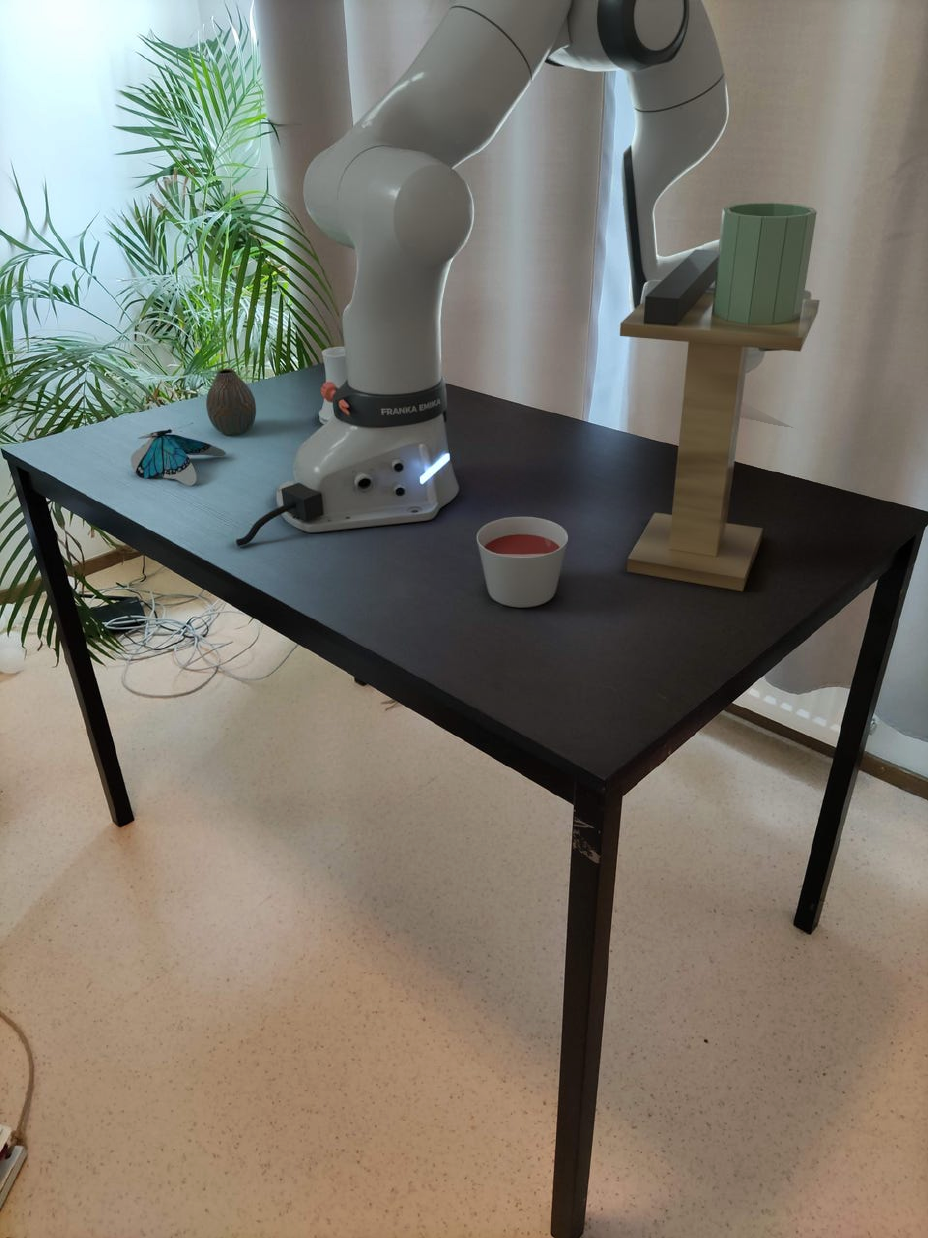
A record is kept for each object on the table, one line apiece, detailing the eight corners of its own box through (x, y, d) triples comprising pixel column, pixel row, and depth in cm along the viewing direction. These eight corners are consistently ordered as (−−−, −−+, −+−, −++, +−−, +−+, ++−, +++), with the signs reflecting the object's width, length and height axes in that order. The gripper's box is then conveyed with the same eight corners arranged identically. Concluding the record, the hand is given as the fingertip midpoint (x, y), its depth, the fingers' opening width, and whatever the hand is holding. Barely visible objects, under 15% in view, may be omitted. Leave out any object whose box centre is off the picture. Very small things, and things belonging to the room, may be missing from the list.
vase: (253, 438, 138) (245, 378, 134) (205, 439, 139) (195, 379, 134) (263, 421, 144) (255, 363, 140) (216, 422, 145) (207, 364, 140)
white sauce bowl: (500, 622, 94) (500, 565, 91) (463, 582, 101) (462, 527, 98) (582, 602, 97) (584, 545, 94) (540, 564, 104) (541, 510, 101)
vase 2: (309, 418, 145) (301, 351, 140) (349, 406, 149) (344, 340, 144) (339, 430, 140) (333, 362, 135) (380, 417, 145) (375, 350, 139)
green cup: (746, 328, 86) (759, 219, 81) (696, 308, 92) (706, 207, 88) (817, 317, 89) (835, 211, 84) (764, 299, 95) (777, 199, 90)
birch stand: (761, 599, 97) (802, 337, 83) (605, 572, 102) (620, 322, 89) (780, 540, 108) (819, 299, 94) (638, 518, 113) (656, 288, 100)
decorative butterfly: (147, 424, 133) (210, 409, 130) (166, 467, 136) (228, 454, 133) (109, 452, 124) (176, 437, 121) (131, 497, 127) (196, 484, 124)
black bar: (676, 325, 87) (678, 298, 86) (643, 323, 88) (645, 296, 87) (720, 274, 105) (723, 250, 103) (692, 272, 106) (695, 249, 104)
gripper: (654, 290, 130) (635, 253, 117) (814, 301, 123) (813, 263, 110) (646, 337, 130) (626, 306, 117) (805, 351, 123) (802, 319, 110)
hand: (718, 285), depth 113 cm, fingers open, 8 cm apart
